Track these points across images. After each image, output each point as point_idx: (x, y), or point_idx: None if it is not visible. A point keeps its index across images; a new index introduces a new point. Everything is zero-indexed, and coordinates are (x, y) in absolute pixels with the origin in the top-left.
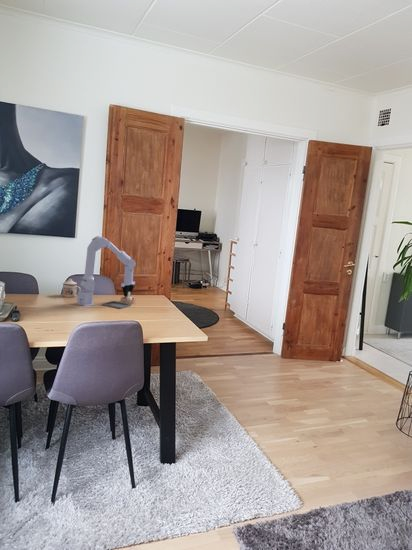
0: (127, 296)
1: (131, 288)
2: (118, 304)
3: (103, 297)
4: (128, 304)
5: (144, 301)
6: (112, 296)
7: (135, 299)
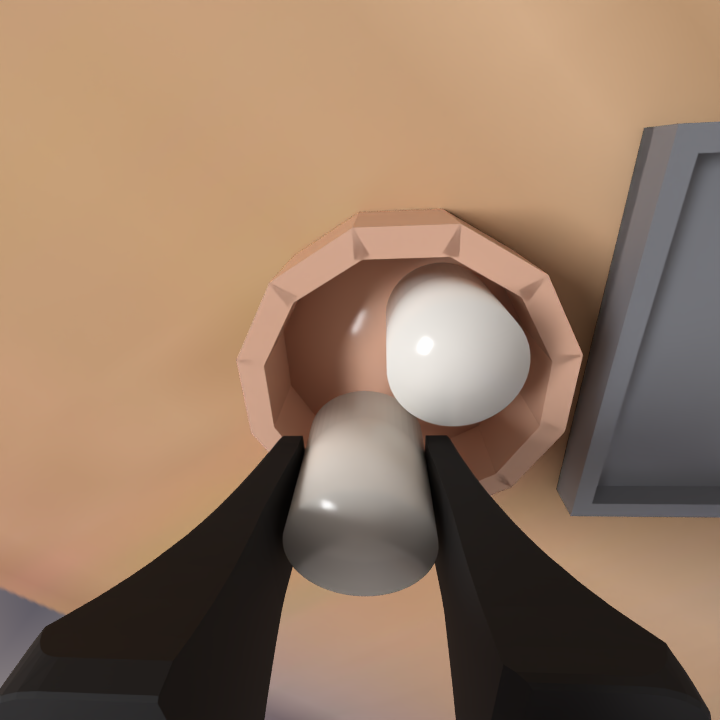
0: (415, 435)
1: (231, 600)
2: (674, 371)
3: (360, 660)
4: (681, 189)
5: (12, 225)
6: None
7: (361, 226)
